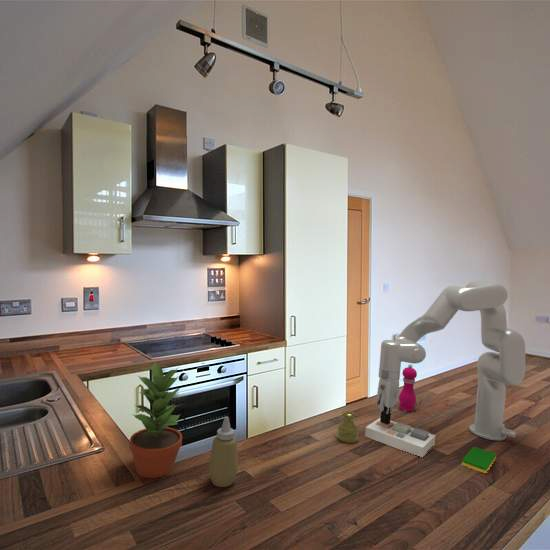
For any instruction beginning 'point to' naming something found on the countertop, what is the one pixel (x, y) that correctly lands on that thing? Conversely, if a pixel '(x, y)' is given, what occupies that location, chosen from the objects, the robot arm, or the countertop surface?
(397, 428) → the sage key
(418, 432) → the charcoal key
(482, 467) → the dish sponge
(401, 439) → the key pad
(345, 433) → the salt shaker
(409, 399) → the pepper mill
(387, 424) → the terracotta key
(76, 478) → the countertop surface
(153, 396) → the potted plant
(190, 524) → the countertop surface
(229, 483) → the squeeze bottle
